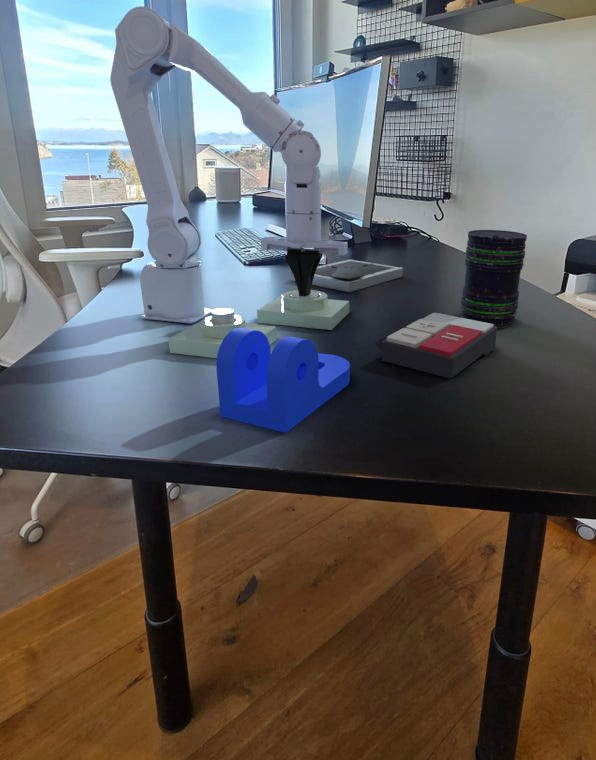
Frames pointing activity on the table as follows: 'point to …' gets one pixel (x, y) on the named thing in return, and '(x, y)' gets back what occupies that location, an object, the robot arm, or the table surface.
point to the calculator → (439, 344)
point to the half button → (222, 316)
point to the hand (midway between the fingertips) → (304, 294)
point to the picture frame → (353, 275)
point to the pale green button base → (211, 336)
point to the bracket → (275, 379)
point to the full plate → (304, 311)
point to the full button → (310, 296)
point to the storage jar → (492, 276)
